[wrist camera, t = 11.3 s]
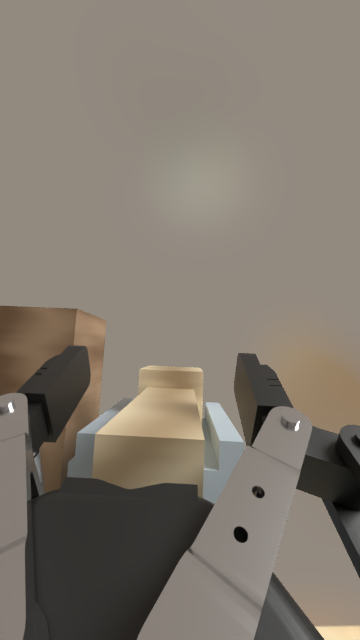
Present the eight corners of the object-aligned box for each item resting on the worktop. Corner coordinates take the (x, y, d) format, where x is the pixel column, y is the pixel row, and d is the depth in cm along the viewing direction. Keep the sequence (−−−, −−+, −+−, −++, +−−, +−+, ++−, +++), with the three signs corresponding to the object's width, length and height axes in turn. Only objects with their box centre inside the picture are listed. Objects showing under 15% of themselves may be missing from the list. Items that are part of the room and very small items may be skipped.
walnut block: (-140, 833, 15) (-56, 303, 19) (-38, 683, 22) (8, 316, 26) (25, 850, 15) (77, 308, 19) (76, 693, 22) (106, 320, 26)
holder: (9, 1103, 10) (71, 432, 13) (97, 729, 20) (120, 398, 23) (243, 1135, 10) (249, 442, 13) (214, 740, 20) (222, 403, 23)
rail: (63, 552, 7) (78, 391, 8) (146, 417, 22) (149, 365, 23) (222, 563, 7) (226, 398, 8) (198, 420, 22) (199, 367, 22)
